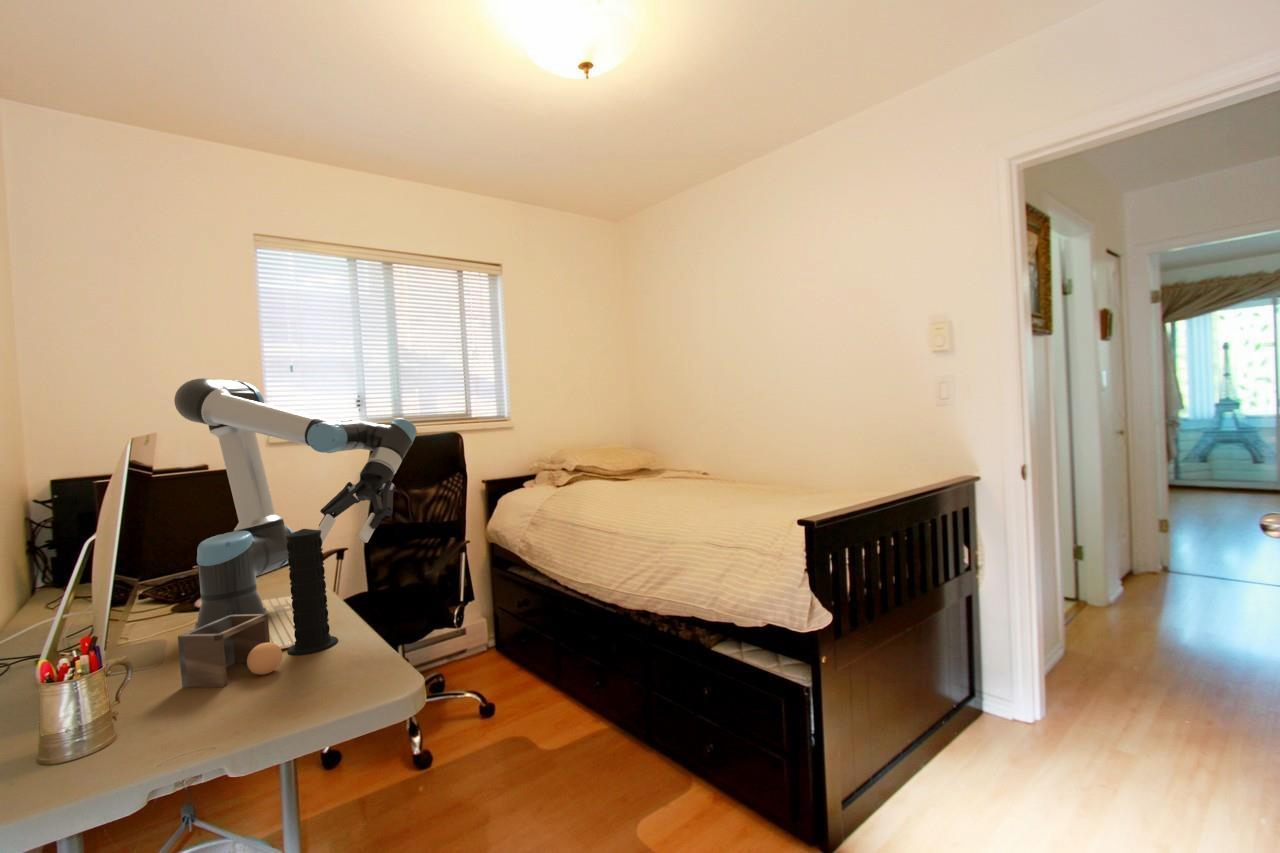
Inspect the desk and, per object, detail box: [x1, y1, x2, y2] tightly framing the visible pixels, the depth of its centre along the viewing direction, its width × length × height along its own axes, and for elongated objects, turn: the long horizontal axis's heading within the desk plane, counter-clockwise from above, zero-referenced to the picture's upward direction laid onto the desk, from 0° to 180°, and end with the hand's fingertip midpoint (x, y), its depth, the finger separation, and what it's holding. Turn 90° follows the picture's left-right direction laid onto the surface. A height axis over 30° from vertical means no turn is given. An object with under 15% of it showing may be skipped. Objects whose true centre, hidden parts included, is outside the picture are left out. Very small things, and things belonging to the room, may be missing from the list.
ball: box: [246, 642, 283, 676], centre depth 117 cm, size 6×6×6 cm
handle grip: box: [286, 528, 339, 656], centre depth 130 cm, size 10×26×10 cm
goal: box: [177, 613, 271, 688], centre depth 118 cm, size 12×9×10 cm
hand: (339, 539), depth 138 cm, fingers open, 13 cm apart
